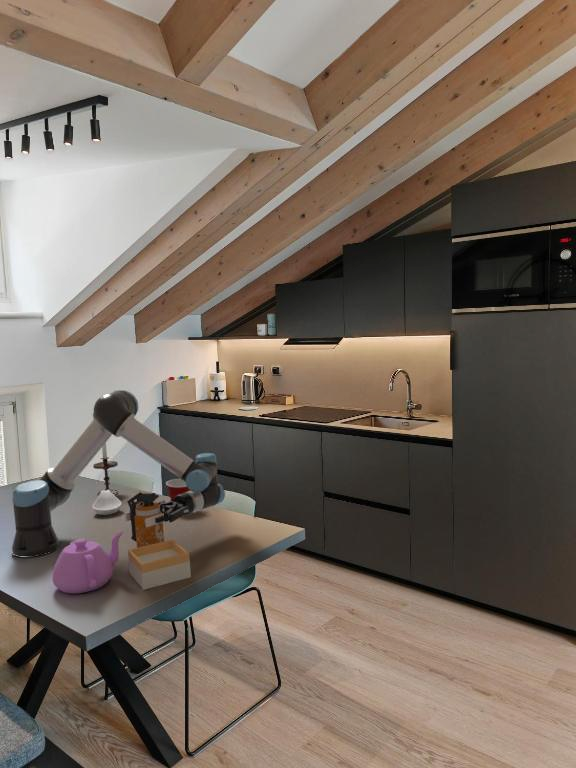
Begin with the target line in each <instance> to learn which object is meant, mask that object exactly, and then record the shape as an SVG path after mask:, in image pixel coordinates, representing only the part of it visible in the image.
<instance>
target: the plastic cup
mask: <svg viewBox="0 0 576 768" xmlns="http://www.w3.org/2000/svg"><path fill="white" fill-rule="evenodd" d="M165 484H166V486H167V491H168V494H169V497H170V498H169V499H170V501H173V500H174V498H175V496H177V495H179V494H183V493H186V492H188V491H191V490H189V489H188V487H187V485H186V482H185V481H183V480H182V479H180V478H174V479H170V480H168V481H166V482H165Z"/></svg>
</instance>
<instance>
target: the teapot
mask: <svg viewBox="0 0 576 768" xmlns="http://www.w3.org/2000/svg"><path fill="white" fill-rule="evenodd" d="M124 532H125V531H124V530H123V531H120V532H117V533H116V534H115V535H113V537H112V539H111V549H110V551H109V552H108V553H107V552H106V551H105V549H104V548H103V547H102V545H100V544H99V543H98V542H96V541H91V540H90V541H88V540H87V539H85V538H79V539H76V540H74V541H71V542H69V545H67V546H65V547H64V548H63V549H62V551H61V552H60V554H59V556H58V558H57V560H56V562H55V564H54V568H53V572H52V583H53V585H54V587H56V588H57V589H58V590H59V591H61V592H63V593H66V594H81V593H87V592H88V593H89V592H92V591H94V590H97V589H100V588H102V587H103V586H105V585H106V584H107V583H108V582H109V581H110V579H111V577H112V576H113V573H114V566H115V565H116V564H117V562H118V558H119V552H120V551H119V540H120V538H121V536H122V535H123V534H124Z"/></svg>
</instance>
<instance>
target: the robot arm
mask: <svg viewBox="0 0 576 768" xmlns="http://www.w3.org/2000/svg"><path fill="white" fill-rule="evenodd" d="M138 411H139V401H138V400H137V398H136V396H135V395H134V394H133V393H132V392H130V391H128V390H123V389H122V390H121V389H118V390H113V392H110V393H105V394H104V395H101V396H100V397H99V398H98V399H97V400H96V401H95V403H94V406H93V413H92V418H93V420H92V421H91V422H90V423H89V425H88V426H87V427H86V428H85V430H84V431H83V432H82V434H80V436H79V437H78V438H77V440H76V441H75V442H74V443H73V444H72V446H70V448H69V449H68V451H67V452H66V454H64V456H63V457H62V458H61V460H60V461H59V462H58V463H57V465H56V466H55V467H54V466H53V467H49V468H47V470H46V472H45V473H44V474H43V475H42V477H41V478H40V479H37V480H29V481H26V482H22V483H20V484H19V485H17V486H16V487H15V488H14V489H13V490H12V504H13V505H12V506H13V515H14V516H13V517H14V523H15V524H14V525H15V533H14V537H13V542H12V546H11V550H12V551H11V553H12V552H13V553H12V555H13V554H15V555H18V556H36V555H40V556H42V555H41V554H44V555H46V554H45V553H47V554H49V553H48V552H50V553H52V552H54V551H56V550H57V549H58V548H59V547H58V546H60V545H59V544H60V543H59V542H60V541H59V538H58V535H57V534H56V532H55V530H54V527H53V524H52V513H51V512H52V511H54V510H55V509H57V508H58V507H60V506H61V505H63V504H65V503H66V502H67V501H68V499H69V498H70V496H71V494H72V491H74V489H75V488H76V480H77V478H78V477H79V476H80V475H81V474H82V473H83V471H84V470H85V469H86V467H87V466H88V465H89V463H90V462H91V461H92V460H93V459H94V458H95V456H96V455H97V454H98V453H99V452H100V451H101V450H102V446H103V445H104V444H105V443H106V444H107V442H108V441H109V440H110V438H111V437H112V435H113V436H114V437H116V438H120V437H121V438H123V439H124V440H125V441H126V442H128V443H129V444H132V446H134V447H136V448H137V449H138V450H139V451H141V452H142V453H143V454H145V455H147V456H148V457H150V458H151V459H152V460H154V461H155V462H156V463H158V465H161V466H162V467H164V468H165V469H167V470H168V471H169V472H170V473H172V474H174V475H175V476H176V477H177V478H178V479H182V480H183V481H185V482H186V485H187V487H188V489H189V490H190V491H188V492H186V493H183V494H179V495H177V496H175V498H174V500H173V501H171V500H170V501H166V500H161V501H157V502H156V501H155V502H156V503H158V504H159V506H160V511H161V512H162V513H161V514H158V515H155V516H152V517H149V518H146V519H145V525H146V527H150V526H153V525H156V524H159V523H161V522H163V523H164V522H165V523H166V522H167V523H168V522H169V523H173V522H175V521H177V520H178V519H180V518H182V517H184V516H187V515H190V514H195V513H197V512H198V511H199V512H200V511H201V510H204V509H207V508H210V507H214V506H216V505H219V504H220V503H223V501H224V500H225V497H226V491H225V490H224V487H223V485H222V484H220V483H219V482H218V462H217V455H216V454H215V453H211V452H209V453H208V452H205V453H204V452H203V453H199V454H197V455H196V456H195V460H194V459H192V458H191V457H189V456H188V455H187V454H185V453H184V452H182V451H181V450H179V449H178V448H176V447H175V446H174V445H173V444H171V443H169V442H168V441H167V440H166V439H164V438H163V437H162V436H160V435H159V434H157V433H156V432H154V431H153V430H152V429H150V428H149V427H147V426H145V424H143V423H141V422H140V421H139V420H137V419H136V418H135V417H136V415H137V413H138ZM130 516H131V515H130V511H126V512H124V519H125V521H124V522H129V521H131V517H130ZM57 547H58V548H57ZM56 548H57V549H56ZM55 549H56V550H55ZM53 550H54V551H53ZM51 551H52V552H51ZM36 557H37V556H36Z"/></svg>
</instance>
